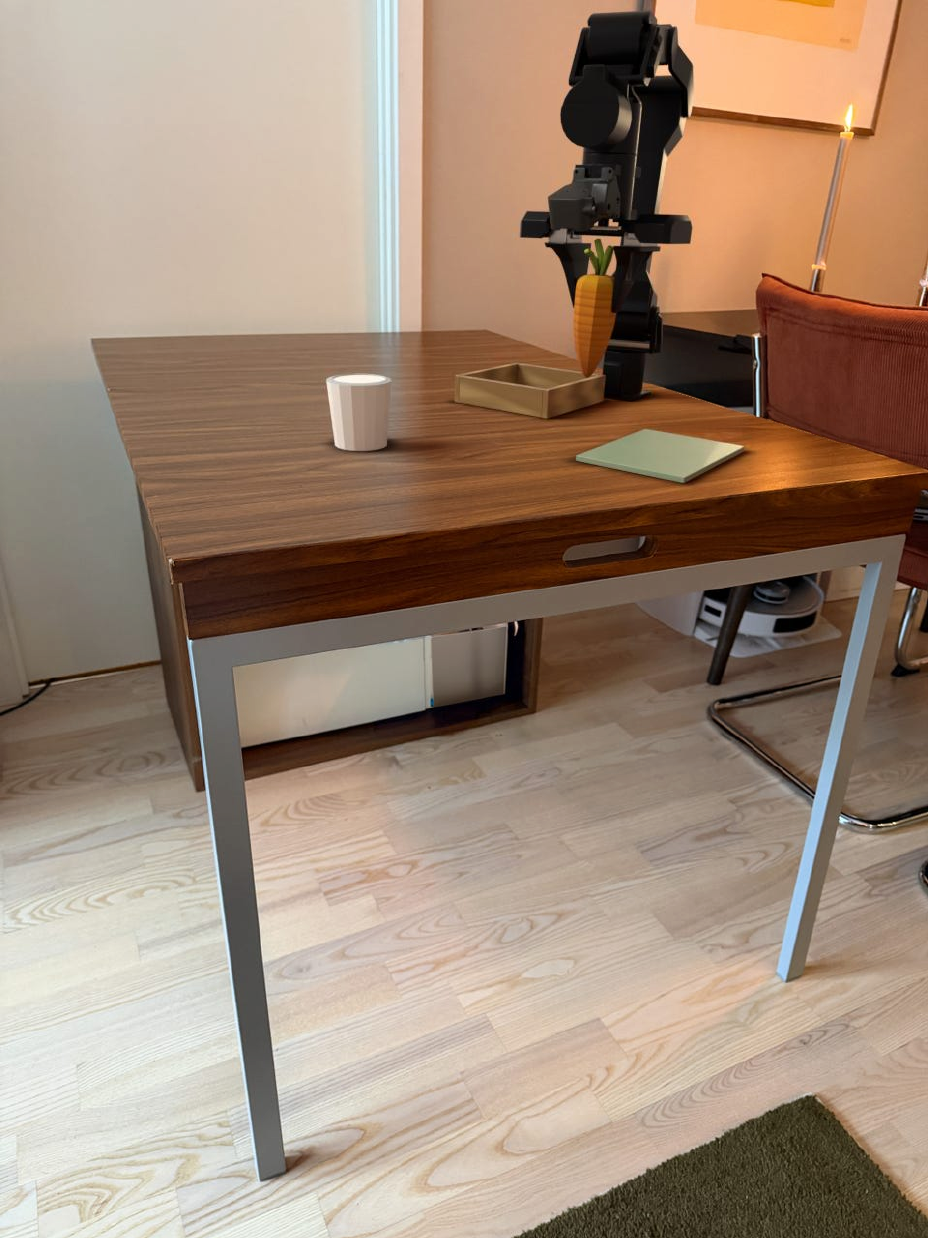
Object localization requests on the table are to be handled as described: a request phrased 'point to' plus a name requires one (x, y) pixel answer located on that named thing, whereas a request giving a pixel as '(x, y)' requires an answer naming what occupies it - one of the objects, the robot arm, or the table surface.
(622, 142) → the robot arm
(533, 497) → the table surface
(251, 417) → the table surface
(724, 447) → the board
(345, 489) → the table surface
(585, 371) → the carrot
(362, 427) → the white cup
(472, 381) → the wooden tray
